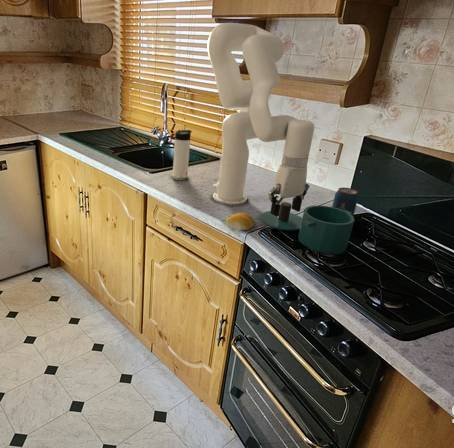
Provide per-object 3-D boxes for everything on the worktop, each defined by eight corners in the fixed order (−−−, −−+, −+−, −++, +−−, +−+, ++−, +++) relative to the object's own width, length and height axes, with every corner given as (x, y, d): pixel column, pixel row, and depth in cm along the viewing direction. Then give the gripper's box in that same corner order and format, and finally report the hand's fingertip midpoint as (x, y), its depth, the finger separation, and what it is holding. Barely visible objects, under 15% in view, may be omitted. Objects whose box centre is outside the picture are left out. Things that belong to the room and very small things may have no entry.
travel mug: (190, 179, 169) (194, 132, 160) (175, 180, 167) (179, 132, 158) (184, 175, 174) (188, 128, 165) (170, 176, 172) (173, 129, 163)
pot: (282, 240, 122) (287, 211, 118) (324, 228, 131) (331, 201, 127) (318, 260, 111) (326, 229, 107) (361, 246, 120) (370, 217, 116)
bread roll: (257, 224, 131) (258, 213, 129) (245, 234, 124) (247, 222, 122) (234, 217, 135) (235, 206, 133) (221, 226, 128) (222, 214, 127)
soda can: (344, 220, 138) (353, 187, 132) (354, 229, 131) (363, 194, 126) (324, 219, 137) (332, 186, 132) (333, 228, 131) (342, 194, 126)
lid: (250, 218, 136) (253, 199, 133) (282, 211, 142) (285, 193, 140) (282, 236, 124) (286, 216, 121) (315, 227, 131) (319, 208, 128)
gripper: (304, 155, 131) (295, 204, 139) (265, 161, 123) (257, 212, 130) (323, 161, 126) (312, 212, 133) (283, 167, 117) (273, 221, 125)
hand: (285, 212), depth 132 cm, fingers open, 9 cm apart
